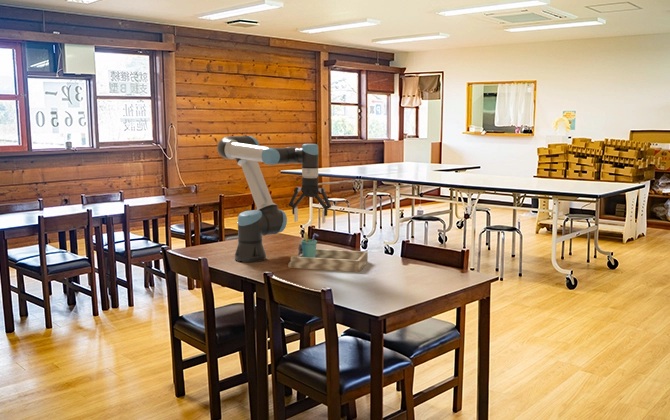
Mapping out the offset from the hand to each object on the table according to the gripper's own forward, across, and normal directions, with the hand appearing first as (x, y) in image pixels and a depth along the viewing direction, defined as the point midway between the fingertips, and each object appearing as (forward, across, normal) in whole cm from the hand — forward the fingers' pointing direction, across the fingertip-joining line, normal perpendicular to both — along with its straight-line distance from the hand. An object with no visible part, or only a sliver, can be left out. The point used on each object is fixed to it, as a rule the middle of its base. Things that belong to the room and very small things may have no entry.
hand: (309, 222), depth 295 cm
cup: (+20, 0, 0) cm, 20 cm away
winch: (+20, -6, +16) cm, 26 cm away
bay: (+20, +10, 0) cm, 22 cm away
